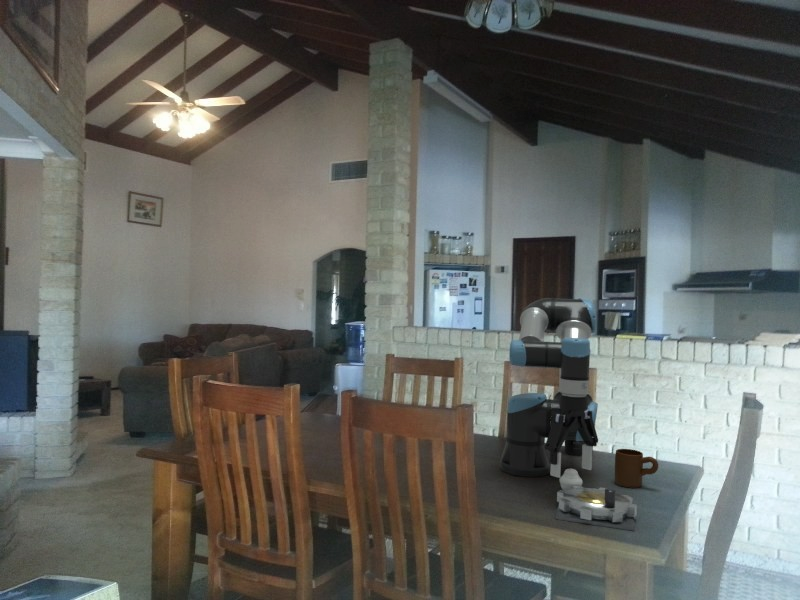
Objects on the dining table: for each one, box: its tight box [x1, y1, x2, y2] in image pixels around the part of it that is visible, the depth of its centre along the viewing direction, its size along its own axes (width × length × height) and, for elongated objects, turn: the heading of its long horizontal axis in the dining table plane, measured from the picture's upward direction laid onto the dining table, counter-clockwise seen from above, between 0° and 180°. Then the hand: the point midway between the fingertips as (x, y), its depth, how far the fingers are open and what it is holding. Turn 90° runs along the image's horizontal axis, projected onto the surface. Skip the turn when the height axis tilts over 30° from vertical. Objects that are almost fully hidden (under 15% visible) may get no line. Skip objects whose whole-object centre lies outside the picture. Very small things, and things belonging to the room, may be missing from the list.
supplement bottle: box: [563, 439, 586, 457], centre depth 210 cm, size 7×7×12 cm
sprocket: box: [556, 485, 638, 522], centre depth 154 cm, size 19×19×6 cm
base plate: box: [554, 502, 636, 532], centre depth 154 cm, size 18×18×1 cm
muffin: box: [559, 467, 583, 491], centre depth 168 cm, size 6×6×7 cm
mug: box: [614, 448, 659, 489], centre depth 176 cm, size 12×8×9 cm, turn 50°
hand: (571, 472), depth 167 cm, fingers open, 13 cm apart
